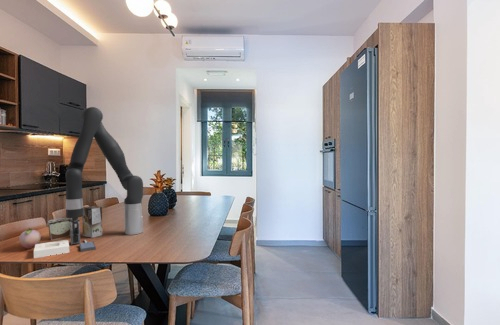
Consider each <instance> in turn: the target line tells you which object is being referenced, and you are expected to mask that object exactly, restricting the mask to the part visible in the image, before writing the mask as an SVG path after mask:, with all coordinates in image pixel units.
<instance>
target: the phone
mask: <svg viewBox="0 0 500 325" xmlns="http://www.w3.org/2000/svg"><path fill="white" fill-rule="evenodd" d="M83 241H84V242H80V243H78V245H79V249H80V252H82V253H84V252H87V251H88V252H89V251H93V250H96V248H97V246H96V245H95V242H94V241H87V239H84V240H83Z"/></svg>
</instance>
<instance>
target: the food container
mask: <svg viewBox="0 0 500 325" xmlns="http://www.w3.org/2000/svg"><path fill="white" fill-rule="evenodd" d="M71 220H72V218H66V217H59V218H54V219H50V220H48V221H47V222H46V223H47V224H46V226H47V227H48V232H49V240H50V241H54V240H55V241H57V240H60V239H64V238H67V237H71V235H70V229H71V224H70V221H71Z"/></svg>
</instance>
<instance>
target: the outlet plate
mask: <svg viewBox="0 0 500 325" xmlns="http://www.w3.org/2000/svg"><path fill="white" fill-rule="evenodd" d="M62 253H63V254H68V253H70V241H69V239H63V240H55V241H49V242H48V241H47V242H42V243H37V244H35V246H34V249H33V259H38V258H39V259H40V258H43V257H49V256H50V255H51V256H57V255H63V254H62ZM56 254H57V255H56Z"/></svg>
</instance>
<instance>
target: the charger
mask: <svg viewBox="0 0 500 325" xmlns="http://www.w3.org/2000/svg"><path fill="white" fill-rule="evenodd" d="M74 232H77V230H76V231H74ZM72 234H73V231H72V230H71V229H70V245H75V244H79V243H81V228H80V227H79V234H78V242H76V243H73V235H72Z"/></svg>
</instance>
